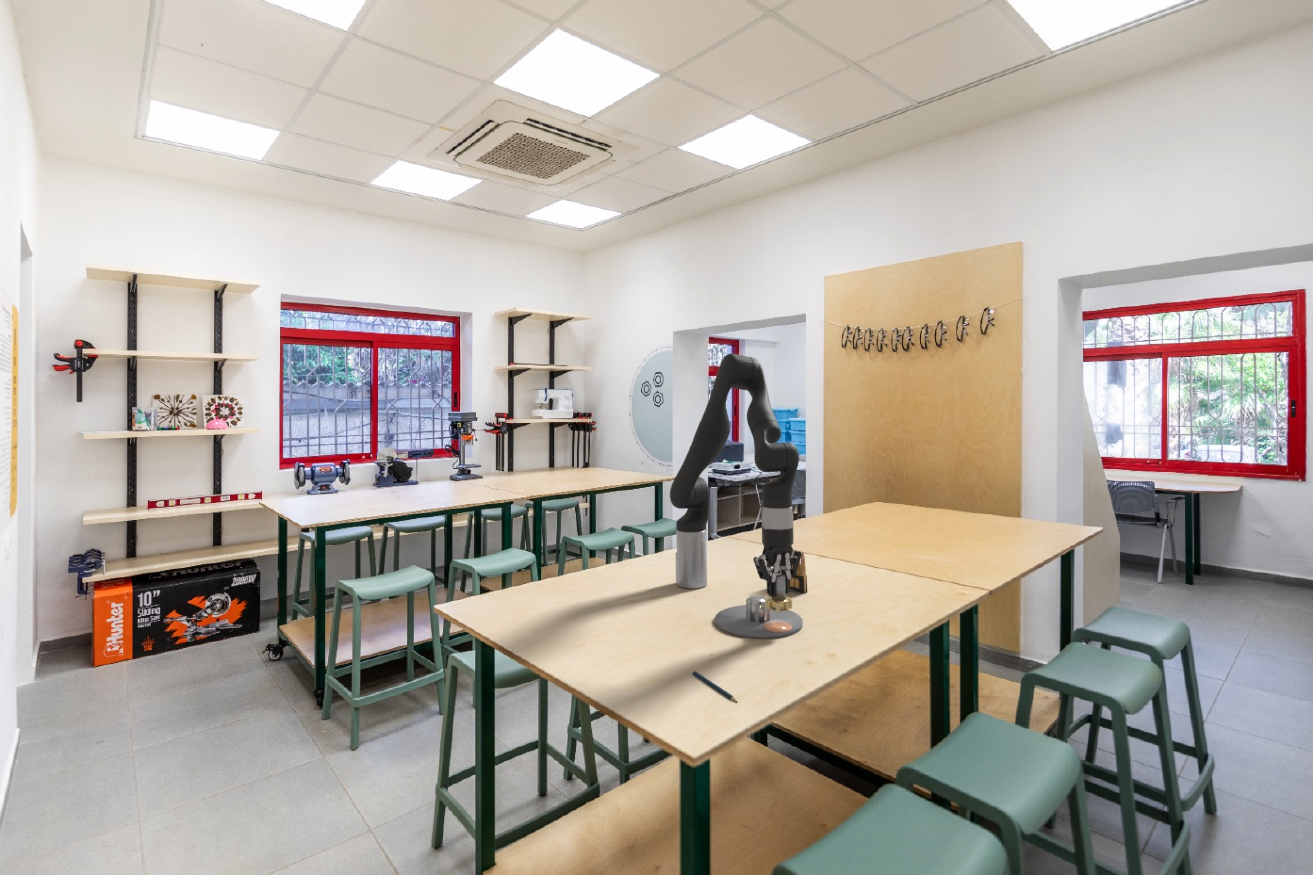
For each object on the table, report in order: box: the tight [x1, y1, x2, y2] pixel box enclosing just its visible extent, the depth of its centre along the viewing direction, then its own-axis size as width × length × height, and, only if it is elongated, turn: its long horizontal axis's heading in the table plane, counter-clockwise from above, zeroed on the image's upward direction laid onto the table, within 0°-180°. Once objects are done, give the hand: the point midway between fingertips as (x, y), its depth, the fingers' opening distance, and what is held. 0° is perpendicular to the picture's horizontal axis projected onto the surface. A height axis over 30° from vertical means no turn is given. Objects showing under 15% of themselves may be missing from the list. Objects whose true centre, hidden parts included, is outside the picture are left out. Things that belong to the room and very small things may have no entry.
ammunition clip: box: [778, 551, 808, 594], centre depth 189 cm, size 11×2×12 cm, turn 43°
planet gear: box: [765, 573, 793, 612], centre depth 154 cm, size 6×6×8 cm
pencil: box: [692, 670, 738, 703], centre depth 125 cm, size 1×1×15 cm
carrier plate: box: [714, 595, 804, 640], centre depth 161 cm, size 22×22×6 cm
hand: (778, 594), depth 154 cm, fingers closed on planet gear, 3 cm apart
